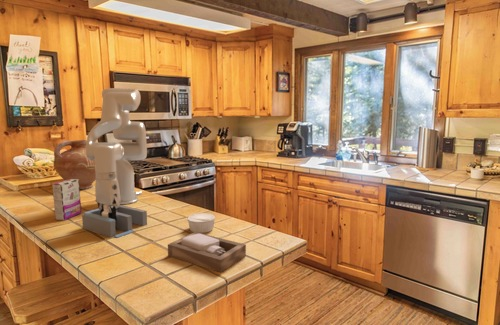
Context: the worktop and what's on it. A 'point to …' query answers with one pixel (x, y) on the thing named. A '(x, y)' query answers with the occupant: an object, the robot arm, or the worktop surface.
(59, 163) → the jug
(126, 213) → the shelf rack
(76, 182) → the candy bar box
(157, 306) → the worktop surface
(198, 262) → the dispenser tray
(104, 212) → the pepper shaker
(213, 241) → the charger
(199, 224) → the ramekin
